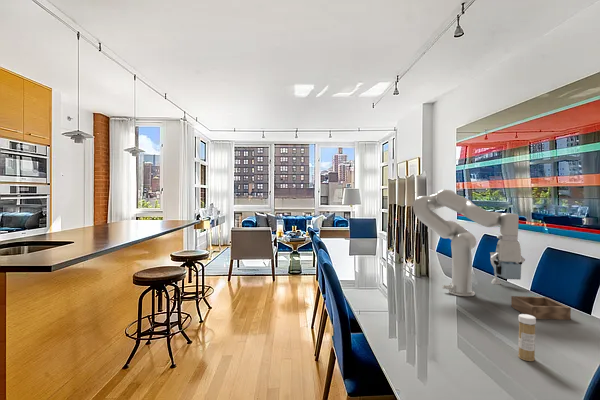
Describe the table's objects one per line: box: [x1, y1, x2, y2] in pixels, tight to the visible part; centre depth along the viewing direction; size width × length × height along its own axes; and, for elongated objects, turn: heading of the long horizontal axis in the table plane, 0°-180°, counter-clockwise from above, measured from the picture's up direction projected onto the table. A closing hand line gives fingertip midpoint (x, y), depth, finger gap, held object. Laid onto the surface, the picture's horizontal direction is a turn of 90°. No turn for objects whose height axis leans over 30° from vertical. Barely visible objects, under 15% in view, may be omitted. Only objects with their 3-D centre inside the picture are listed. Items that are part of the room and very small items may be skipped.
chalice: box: [489, 251, 501, 285], centre depth 206 cm, size 7×7×18 cm
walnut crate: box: [510, 295, 572, 321], centre depth 152 cm, size 16×16×5 cm
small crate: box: [493, 260, 522, 281], centre depth 169 cm, size 7×11×7 cm, turn 177°
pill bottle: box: [517, 313, 537, 362], centre depth 108 cm, size 5×5×13 cm
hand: (506, 274), depth 169 cm, fingers closed on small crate, 7 cm apart
